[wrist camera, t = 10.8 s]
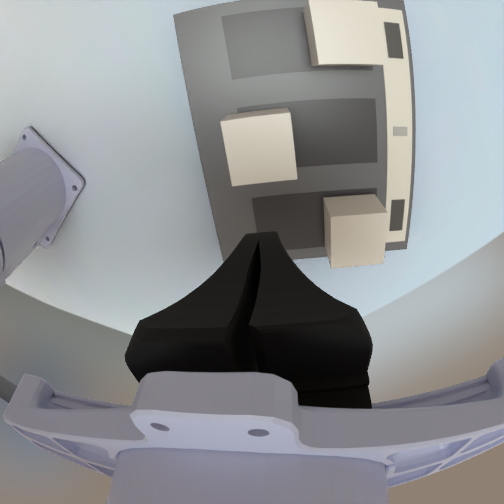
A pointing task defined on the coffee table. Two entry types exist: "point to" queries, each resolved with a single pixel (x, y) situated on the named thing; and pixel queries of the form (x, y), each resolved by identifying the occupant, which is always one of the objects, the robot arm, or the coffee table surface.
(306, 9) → the tab
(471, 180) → the coffee table surface
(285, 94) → the switch bank
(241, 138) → the tab
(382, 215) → the tab
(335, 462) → the robot arm
